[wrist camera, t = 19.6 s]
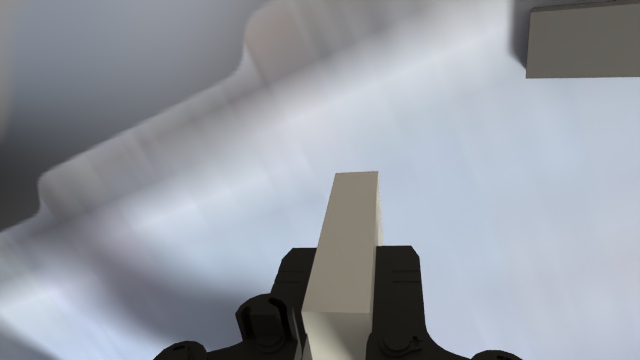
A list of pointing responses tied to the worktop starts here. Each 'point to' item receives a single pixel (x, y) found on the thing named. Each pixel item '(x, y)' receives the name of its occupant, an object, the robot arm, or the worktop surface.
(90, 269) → the worktop surface
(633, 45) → the domino
